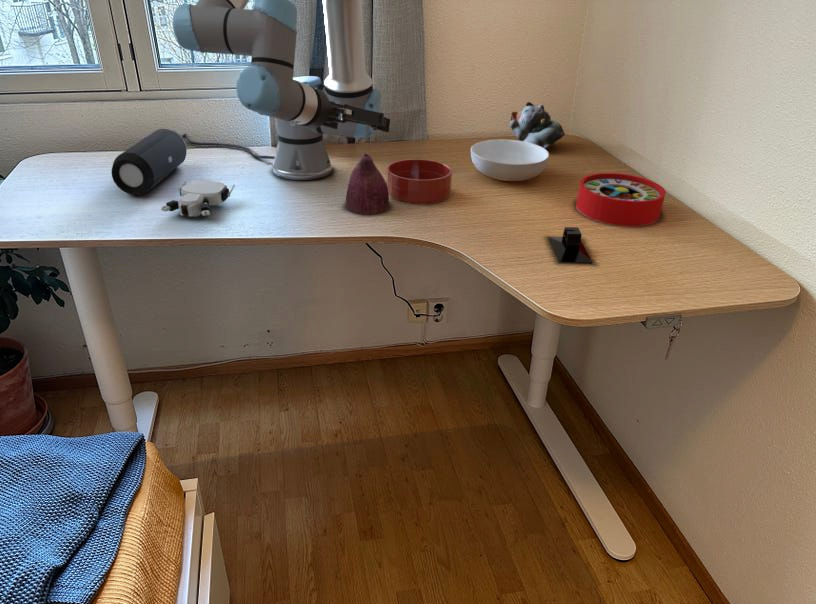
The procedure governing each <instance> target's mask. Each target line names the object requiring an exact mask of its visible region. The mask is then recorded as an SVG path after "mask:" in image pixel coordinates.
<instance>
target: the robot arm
mask: <svg viewBox="0 0 816 604" xmlns="http://www.w3.org/2000/svg"><path fill="white" fill-rule="evenodd" d="M249 2H250V0H198V1H197V2H196V4H192V3H188V4H180V5H179V6H177V7H176V8H175V10H174V13H173V16H172V31H173V35H174V37H175V38H176V42H177V43H178V44H179V46H180V47H181V48H182V49H184V50H186V51H193V52H198V53H202V54H205V53H206V54H222V55H233V56H234V55H236V56H245V57H251V58H250V59H251V60H250V65H248V66H246V67H245V68H244V69H243V70H241V71H240V73H239V78H238V79H237V80H236V86H235V87H236V89H235V90H236V94H237V95H236V96H237V98H238V100H239V102H240V103H241V105H242V106H243V107H245V108H246V109H247V110H249V111H251V112H255V113H257V114H259V115H261V116H267V117H271V118H274V119H275V122H276V123H275V125H276V134H277V145H276V148H275V154H274V155H263V154H262V155H261V154H257V153H256V152H255V151H254V150H253V149H252V148H250V147H248V146H246V145H241V144H235V143H234V144H233V143H225V142H209V141H208V142H203V141H194V140H191V139H190V137H189V135H188V133H187V132H185V134H184V133H183V134H182V138H183V139H186V141H187V142H188V143H189V144H191V145H195V146H196V145H197V146H215V147H217V146H219V147H220V146H221V147H229V148H236V149H237V148H238V149H241V150H246V151H247V152H249V153H250V154H251V155H252V156H253V157H255V158H257V159H264V160H266V159H267V160H273V162H272V171H273V172H272V173H274V175H276V176H277V177H279V178H282V179H285V180H292V181H311V180H317V179H322V178H324V177H327V176H328V175H330V174H331V172H332V163H331V160H330V158H329V154H328V151H327V149H326V146H325V143H324V135H327V136H339V137H346V138H353V139H357V138H359V139H368V138H370V137H372V136H373V134H374V133H375V131H377V130H378V131H382V132H385V133H390V126H391V125H390V124H391V119H390V118H388V117H385V113H383V112H381V108H382V94H381V91H380V90H379V89H377V88H374V87H373V78H372V77H371V76H370V75H369V74H368V73H367V71H366V55H365V37H364V22H363V21H364V20H363V3H362V0H322V6H323V14H324V17H323V18H324V26H325V28H324V29H325V37H326V47H327V58H328V59H327V60H328V68H329V69H328V70H329V75H328V76H326V78H325V80H324V84H322V79H321V77H319V76H315V75H304V76H303V75H302V76H295V77H294V74H295V71H294V69H295V58H296V47H297V37H298V10H297V7H296V5H295V4H294V3H293V2H292V1H291V0H254V4H253V6H252V7H253V8H252V9H249V8H247V7H248V4H249Z"/></svg>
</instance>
